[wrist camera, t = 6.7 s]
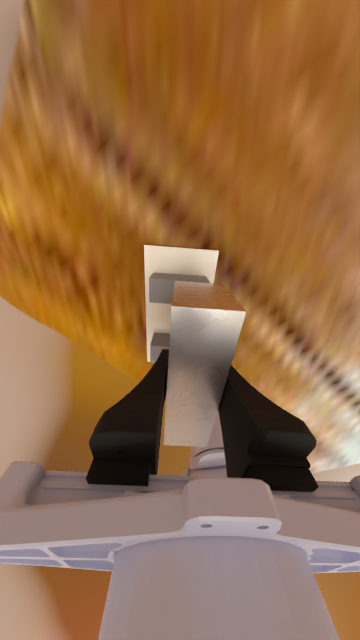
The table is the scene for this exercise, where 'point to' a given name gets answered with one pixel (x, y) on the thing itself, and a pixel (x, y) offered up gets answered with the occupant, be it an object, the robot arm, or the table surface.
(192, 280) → the peg rack
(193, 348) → the white long rectangular piece
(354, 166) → the table surface
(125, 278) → the table surface
